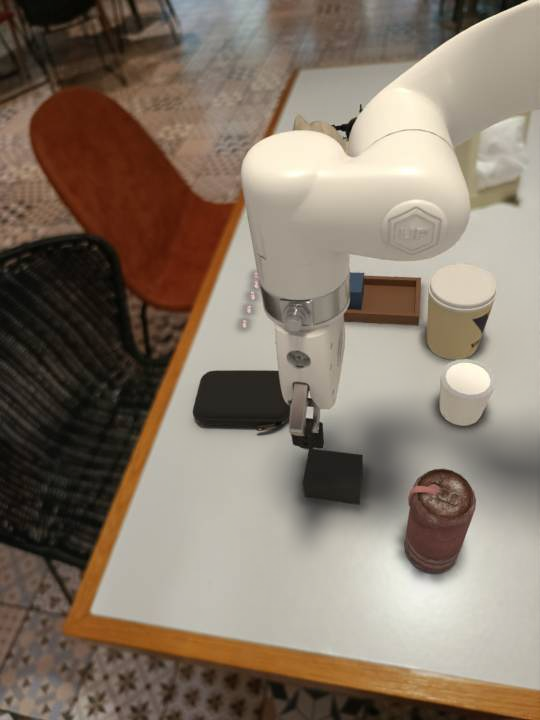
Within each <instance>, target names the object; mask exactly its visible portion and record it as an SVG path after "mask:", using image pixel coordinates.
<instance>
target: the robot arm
mask: <svg viewBox="0 0 540 720" xmlns="http://www.w3.org/2000/svg"><path fill="white" fill-rule="evenodd" d="M362 109H363V110H362V112H361V113H359V114H358V115H357V117H358V118H357V119H356V121H355V123H354V125H353V127H352V130H351V133H350V136H349V139H348V140H349V141H348V140H347V141H348V155H347V154H346V153H345V151H344V150H343V148H342V147H341V145H340V144H339V143H338V142H337V141H336V140H335V139H333V138H332V137H330V136H328V135H325V134H323V133H320V132H316V131H308V130H295V131H292V130H288V131H287V130H286V131H282V132H279V133H275V134H272V135H270V136H267V137H265V138H262V139H260V140H259V141H258V142H257V143H256V144H254V145H253V146H251V148H250V149H249V150H248V151H247V152H246V154H245V156H244V158H243V160H242V163H241V167H240V168H241V169H240V182H241V189H242V194H243V199H244V200H243V201H244V204H245V205H244V206H245V211H246V216H247V221H248V229H249V233H250V239H251V245H252V249H253V255H254V261H255V267H256V273H257V274H258V275H257V276H258V277H257V279H258V286H259V291H260V295H261V300H262V301H261V302H262V307H263V310H264V313H265V315H266V317H267V318H268V319H269V320H270V321H271V322H272V323H274V336H275V337H274V338H275V340H274V342H275V347H276V348H275V350H276V361H277V371H279V379H280V386H281V391H282V395H283V398H284V400H285V402H286V403H287V404H288V405H290V417H289V422H288V423H289V425H288V433H289V434H290V436H291V442H292V445H293V446H295V447H299V448H300V449H304V450H309V449H319V450H324V447H325V434H324V433H325V432H324V423H323V422H321V410H331V409H332V408H333V407H334V406H335V404H336V401H337V396H338V392H339V391H338V390H339V387H340V386H339V385H340V380H341V374H342V367H343V363H344V362H343V361H344V355H345V348H346V347H345V346H346V327H345V321H344V313H345V312H346V310H347V308H348V306H349V303H350V271H351V269H350V255H352V256H359V257H366V258H372V259H376V260H377V259H378V260H386V261H395V262H417V261H424V260H428V259H431V258H435V257H437V256H440V255H442V254H443V253H446V252H447V251H448V250H450V249H451V248H452V247H453V246H455V245H456V244H457V242H458V241H460V239H461V238H462V236H463V235H464V233H465V232H466V229H467V227H468V224H469V221H470V216H471V211H472V210H471V198H470V192H469V188H468V184H467V181H466V179H465V176H464V173H463V170H462V168H461V164H460V162H459V159H458V156H457V154H456V150H455V149H456V148H457V147H459V146H461V145H462V144H465V142H467V141H468V140H470V139H472V138H473V137H475V136H476V135H478V134H480V133H482V132H483V131H485V130H487V129H489V128H490V127H492V126H494V125H497V124H499V123H500V122H503V121H504V120H507V119H509V118H513V117H515V116H518V115H521V114H525V113H528V112H529V113H530V112H532V111H538V110H540V0H526V1H524V2H521V3H520V4H517V5H515V6H512V7H510V8H508V9H506V10H503V11H501V12H499V13H497V14H495V15H492V16H490V17H487V18H485V19H483V20H481V21H480V22H477V23H475V24H474V25H471V26H470V27H468V28H466V29H465V30H463V31H461V32H459V33H457V34H455V36H453V37H451V38H450V39H448V40H446V41H444V43H442V44H440V45H439V46H438V47H436V48H435V49H433V50H432V51H431V52H429V53H428V54H427V55H425V56H424V57H422V58H421V59H420V60H418V62H416V63H414V64H413V65H412V66H411V67H410V68H408V69H407V70H405V71H403V73H402V74H400V75H399V76H398V77H396V78H395V79H394V80H393V81H391V82H390V83H389V84H387V85H386V87H383V89H382V90H380V91H379V92H378V93H377V94H376V95H375V96H374V97H373V98H372V99H371V100H370V101H368V103H366V105H365V107H364V108H362ZM309 395H310V396H309ZM308 408H313V409H312V418H310V417H307V411H308Z"/></svg>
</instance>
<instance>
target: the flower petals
mask: <svg viewBox="0 0 540 720" xmlns="http://www.w3.org/2000/svg"><path fill="white" fill-rule="evenodd" d="M253 278H254V279H258V274H257V272H254V277H253ZM253 287H254V289H257V290H258V289H260V286H259V281H257V280H254V286H253ZM250 297H251V298H250V299H251V300H253V301H254V300H255V299H256V295H255V292H254V291H251V292H250ZM246 310H247V311H246V313H248V314H251V313H252V311H251V310H252V306H251V305H247V309H246ZM242 322H243V323H242V328H244V329H246V328H247V327H248V326H247V323H248V321H247V320H245V319H243V320H242Z"/></svg>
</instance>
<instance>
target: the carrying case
mask: <svg viewBox="0 0 540 720" xmlns="http://www.w3.org/2000/svg"><path fill="white" fill-rule="evenodd" d="M192 416H193V418H194V419H195V421H197V422H198V423H200V424H203V425H205V426H242V427H243V426H248V427H249V426H251V427H255V431H257V432H262V431H267V430H272V429H277V427H279V426H282V424H285V423H286V422H287V421H288V420H289V419H290V405H288V404H287V403H286V402H285V400H284V398H283V395H282V391H281V386H280V379H279V371H278V370H269V369H267V370H266V369H265V370H264V369H263V370H262V369H261V370H260V369H259V370H255V369H253V370H252V369H251V370H250V369H245V370H244V369H240V370H237V369H235V370H231V369H230V370H229V369H228V370H227V369H225V370H223V369H222V370H209V371H207V372H205V374H203V375H202V376H201V378H200V380H199V384H198V388H197V392H196V395H195V400H194V404H193V408H192Z"/></svg>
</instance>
